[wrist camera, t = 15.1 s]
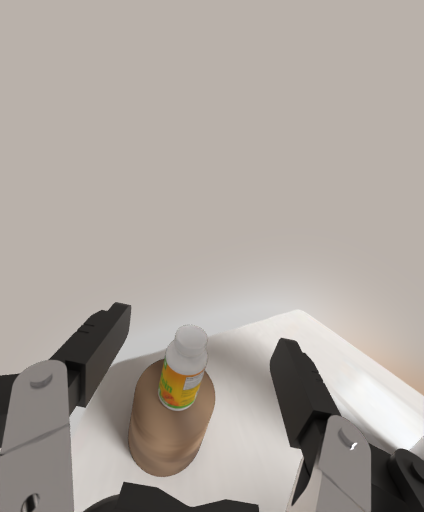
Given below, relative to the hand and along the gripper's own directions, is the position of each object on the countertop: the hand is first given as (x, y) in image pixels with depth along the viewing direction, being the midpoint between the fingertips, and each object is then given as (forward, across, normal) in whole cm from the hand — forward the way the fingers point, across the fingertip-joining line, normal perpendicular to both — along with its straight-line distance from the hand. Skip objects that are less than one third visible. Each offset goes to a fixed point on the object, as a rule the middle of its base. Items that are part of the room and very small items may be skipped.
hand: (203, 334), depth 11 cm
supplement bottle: (+11, 0, +20) cm, 23 cm away
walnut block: (+11, 0, +28) cm, 30 cm away
